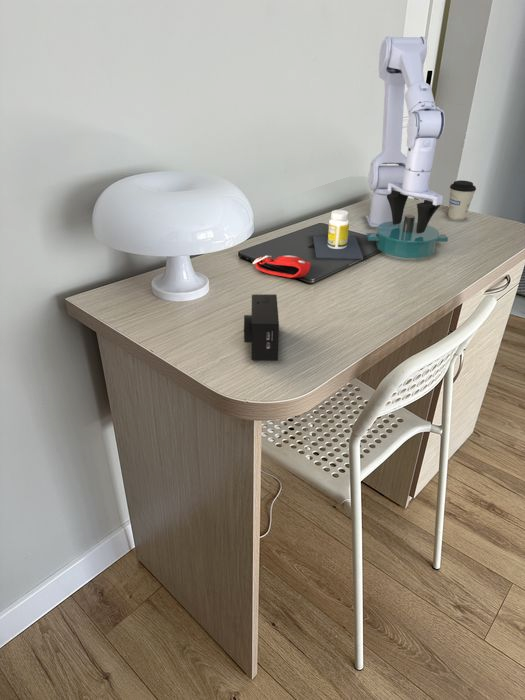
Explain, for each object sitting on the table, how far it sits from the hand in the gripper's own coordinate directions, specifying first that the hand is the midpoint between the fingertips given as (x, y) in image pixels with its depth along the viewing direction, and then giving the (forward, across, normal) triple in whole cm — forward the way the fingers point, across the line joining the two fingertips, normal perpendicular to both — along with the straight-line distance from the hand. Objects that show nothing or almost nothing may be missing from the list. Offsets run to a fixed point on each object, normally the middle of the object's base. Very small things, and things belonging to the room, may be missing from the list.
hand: (408, 228), depth 121 cm
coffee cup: (+6, +8, -31) cm, 33 cm away
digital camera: (+6, -16, +54) cm, 57 cm away
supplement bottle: (+5, +10, +13) cm, 17 cm away
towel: (+5, +10, +13) cm, 17 cm away
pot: (+5, 0, 0) cm, 5 cm away
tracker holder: (+6, +6, +32) cm, 34 cm away
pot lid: (+1, 0, 0) cm, 1 cm away
